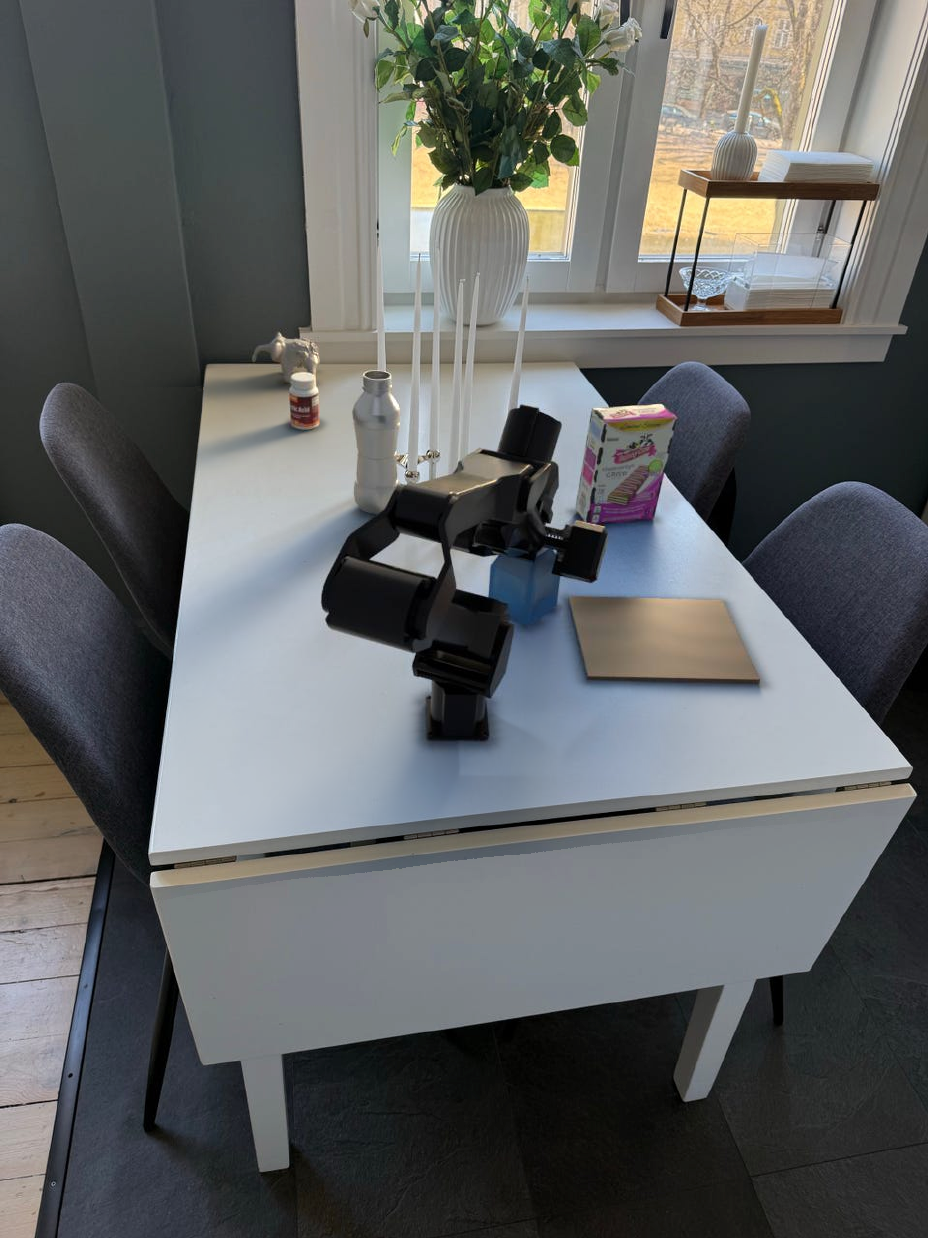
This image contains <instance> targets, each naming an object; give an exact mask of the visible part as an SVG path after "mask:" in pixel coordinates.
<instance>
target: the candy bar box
mask: <svg viewBox="0 0 928 1238" xmlns="http://www.w3.org/2000/svg"><path fill="white" fill-rule="evenodd" d="M677 419H678V417H677V416H676V415H675V413H673V412H672V411H671V410H669V409H668V408H667V407H666V406H665V405H663V404H662V403H656V404H654V403H653V404H642V405H641V404H638V405H626V406H608V407H605V406H604V407H592V408H591V411H590V416H589V424H588V430H587V435H586V440H585V447H584V453H583V460H582V465H581V472H580V476H579V482H578V488H577V495H576V499H575V506H574V507H575V508H574V512H575V513H576V514H577V516H578V517H579V518H580V519H581V521H582V522H585V523H590V524H594V525H598V526H602V525H609V524H618V523H628V522H637V521H645V520H648V521H649V520H653V519H655V515H656V512H657V506H658V502H659V498H660V494H661V489H662V484H663V481H664V476H665V472H666V468H667V464H668V463H667V462H668V459H669V454H670V449H671V446H672V442H673V437H674V433H675V428H676V425H677Z"/></svg>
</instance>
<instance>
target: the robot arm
mask: <svg viewBox="0 0 928 1238" xmlns="http://www.w3.org/2000/svg"><path fill="white" fill-rule="evenodd" d="M562 427H563V423H562V421H560V420H558V419H556V418H554V417H553V416H551V415H550V414H547V413H545V412H543V411H541V410H540V408H539V407H538V406H534V405H533V406H532V405H529V404H524V403H521V404H520V405H519V407H514V408H511V409H510V410H509V411H508V414H507V416H506V421H505V423H504V427H503V429H502V433H501V436H500V440H499V443H498V445H497V449H496V450H491V449H487V448H482V447H478V448H477V449H475V450H474V451H472V452H470V453H468V454H467V455H466V456H464V457H463V458H461V459H460V460H459V461H458V462H457V467H456V468H455V470H454V471H453V472H452V473H451V474H450V473H449V474H447V475H443V476H440V477H436V478H432V479H429V480H425V481H424V480H423V481H421V482H416V483H415V482H408V483H406V484H403V483H399V485H398V486H397V487H396V488H395V490H394V492H393V493H392V495H391V497H390V499H389V501H388V503H387V505H386V507H385V509H384V510H383V511H382V512H380V513H379V514H375V516H373V517H372V518H370V519H369V520H368V521H366V522H365V523H363V524H362V525H360V526H359V527H358V528H356V529H355V530H353V531H352V532H350V533H349V535H348V536H347V537H346V538H345V541H344V543H343V544H342V546H341V548H340V550H339V552H338V554H337V555H336V558H335V560H334V562H333V564H332V566H331V568H330V570H329V572H328V574H327V575H326V577H325V580H324V583H323V586H322V590H321V594H320V595H321V596H320V604H321V605H320V606H321V609H322V610H323V612H325V613H327V615H326V616H325V618H324V620H325V623H326V625H327V627H328V628H329V629H331V630H332V631H334V632H335V631H336V632H339V633H342V634H346V635H349V636H351V637H352V636H353V637H357V638H359V639H362V640H367V641H369V642H374V643H376V644H380V645H384V646H387V647H390V648H393V649H397V650H401V651H403V652H406V653H407V652H408V653H411V654H414V657H413V660H412V663H411V670H412V674H413V677H416V678H423V679H425V680H429V681H431V686H430V687H431V689H430V695H426V696H425V737H426V739H427V740H429V741H477V742H478V741H479V742H480V741H481V742H483V741H488V740H489V739H490V726H489V725H490V724H489V715H488V703H487V699H490V700H491V699H492V697H493V696H494V695H495V693H496V691H497V689H498V687H499V686H500V684H501V682H502V680H503V678H504V677H505V675H506V673H507V668H508V663H509V660H510V654H511V650H512V649H511V648H512V645H513V639H514V634H515V624H514V623H511V620H512V619H511V617H510V614H509V612H508V611H506V610H507V608H508V604H507V603H503V602H500V601H499V600H497V599H493V598H489V597H488V596H485V595H482V594H478V593H474V592H471V591H468V590H467V591H466V590H464V589H458V588H457V581H456V575H455V571H454V565H453V560H452V555H451V550H454V551H459V552H463V553H465V554H470V555H474V556H477V557H482V558H486V557H492V556H493V557H494V556H498V555H503V556H507V557H511V558H515V559H519V560H523V561H527V562H531V563H534V562H535V559H536V556H537V553H538V552H539V551H540V550H541V549H542V547H544V548H548V549H552V550H554V551H555V554H556V559H555V562H554V565H553V569H552V572H551V574H554V575H558V576H560V577H563V578H566V579H570V580H575V581H578V582H582V583H588V584H593V583H594V582H596V581H597V580H598V578H599V575H600V571H601V568H602V564H603V561H604V558H605V554H606V550H607V547H608V544H609V541H610V533H609V532H608V530H607V528H606V526H602V525H594V524H590V523H585V522H583V521H582V520H577V519H575V521H574V522H573V524H572V525H571V524H567V523H566V524H565V525H564V528H562V529H560V528H556V527H552V526H547V524H549V525H551V523H552V520H553V516H554V511H553V509H552V508H553V506H554V505H553V504H554V498H555V496H556V494H557V491H558V489H559V486H560V475H559V472H560V471H559V464H558V463H557V462H556V461H555V460H554V461H553V457H554V454H555V450H556V447H557V443H558V440H559V437H560V434H561V431H562ZM401 534H402V535H406V536H409V537H412V538H413V537H415V538H418V539H421V540H426V541H429V542H433V543H436V544H437V543H438V544H440V546H441V551H442V556H443V564H442V567H441V568H440V571H439V573H438V576H437V577H436V576H432V575H430V574H425V573H421V572H418V571H414V570H411V569H408V568H407V569H406V568H403V567H400V566H396V565H391V564H387V563H384V562H380V561H377V560H372V559H373V558H374V557H375V556H376V555H378V554H379V553H381V552H382V551H383V550H385V549H386V548H388V547H389V546H391V545H392V544H394V542H396V541H397V540H398V539H399V537H400V535H401Z"/></svg>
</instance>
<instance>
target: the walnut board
mask: <svg viewBox="0 0 928 1238" xmlns="http://www.w3.org/2000/svg"><path fill="white" fill-rule="evenodd" d="M567 602H568V604H569V605H568V606H569V609H570V614H571V618H572V622H573V627H574V631H575V634H576V639H577V643H578V644H577V645H578V647H579V652H580V656H581V661H582V664H583V669H584V674H585V677H586V680H587V681H605V682H608V681H609V682H653V683H654V682H656V683H658V682H661V683H704V684H705V683H706V684H707V683H708V684H709V683H710V684H711V683H712V684H760V682H761V678H760V675H759V674H758V672H757V670H756V667H755V665H754V663H753V661H752V659H751V656H750V654H749V653H748V651H747V647H746V646H745V643H744V642H743V640H742V638H741V636H740V634H739V631H738V629H737V627H736V625H735V623H734V621H733V619H732V616H731V614H730V612H729V611H728V608H727V606H726V604H725V602H724V600H723V599H702V598H701V599H699V598H698V599H697V598H663V597H626V596H625V597H621V596H587V595H583V596H581V595H568V597H567Z"/></svg>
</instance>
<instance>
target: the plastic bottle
mask: <svg viewBox="0 0 928 1238" xmlns="http://www.w3.org/2000/svg"><path fill="white" fill-rule="evenodd" d="M361 388H362V390H363V392H362V393H361V395H360V396H358V398H357V399H356V401H355V403H354V404H353V407H352V411H351V415H352V421H353V428H354V433H355V440H356V442H355V443H356V449H357V450H356V455H357V456H356V457H357V459H356V471H355V472H356V473H355V479H354V485H353V496H354V502H355V504H356V505H357V506H358V508H359V509H360V510H361V511H363V512H366V513H368V514H374V515H378V514H379V513H380V512H382V511H383V510H384V509H385V507H386V505H387V503H388V501H389V499H390V497H391V495H392V493H393V492H394V490H395V488H396V487H397V486H398V485H399V484H400V480H399V478H398V467H397V466H398V465H397V450H398V449H397V448H398V447H397V446H398V438H399V432H400V425H401V417H402V412H401V409H400V406H399V404H398V402H397V401H396V399H395V398H394V396H393V395H392V393H390V391H392V389H393V384H392V374H391V373H390V372H389V371H385V370H379V369H372V370H367V371H365V372H364V373H363V374H362V384H361Z"/></svg>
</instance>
